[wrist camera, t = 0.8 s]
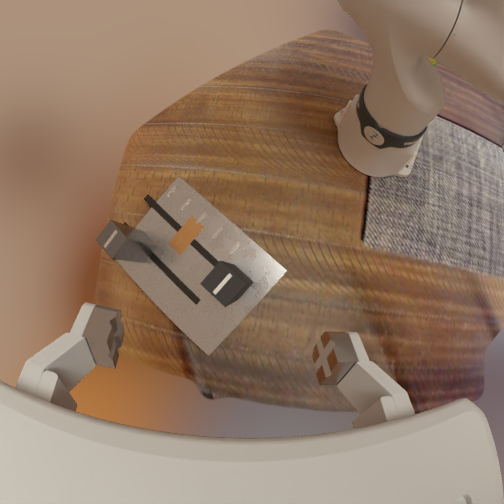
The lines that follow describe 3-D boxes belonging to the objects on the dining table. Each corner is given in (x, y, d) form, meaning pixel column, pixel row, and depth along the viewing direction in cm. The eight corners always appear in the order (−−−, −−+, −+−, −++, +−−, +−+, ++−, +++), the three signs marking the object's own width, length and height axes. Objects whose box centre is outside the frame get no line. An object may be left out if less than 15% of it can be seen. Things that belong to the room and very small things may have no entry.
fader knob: (234, 264, 46) (220, 260, 35) (253, 282, 45) (245, 283, 34) (218, 282, 46) (199, 283, 35) (237, 300, 45) (224, 307, 34)
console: (174, 172, 51) (144, 143, 38) (286, 270, 47) (289, 268, 34) (111, 249, 51) (70, 241, 38) (211, 353, 47) (188, 377, 34)
